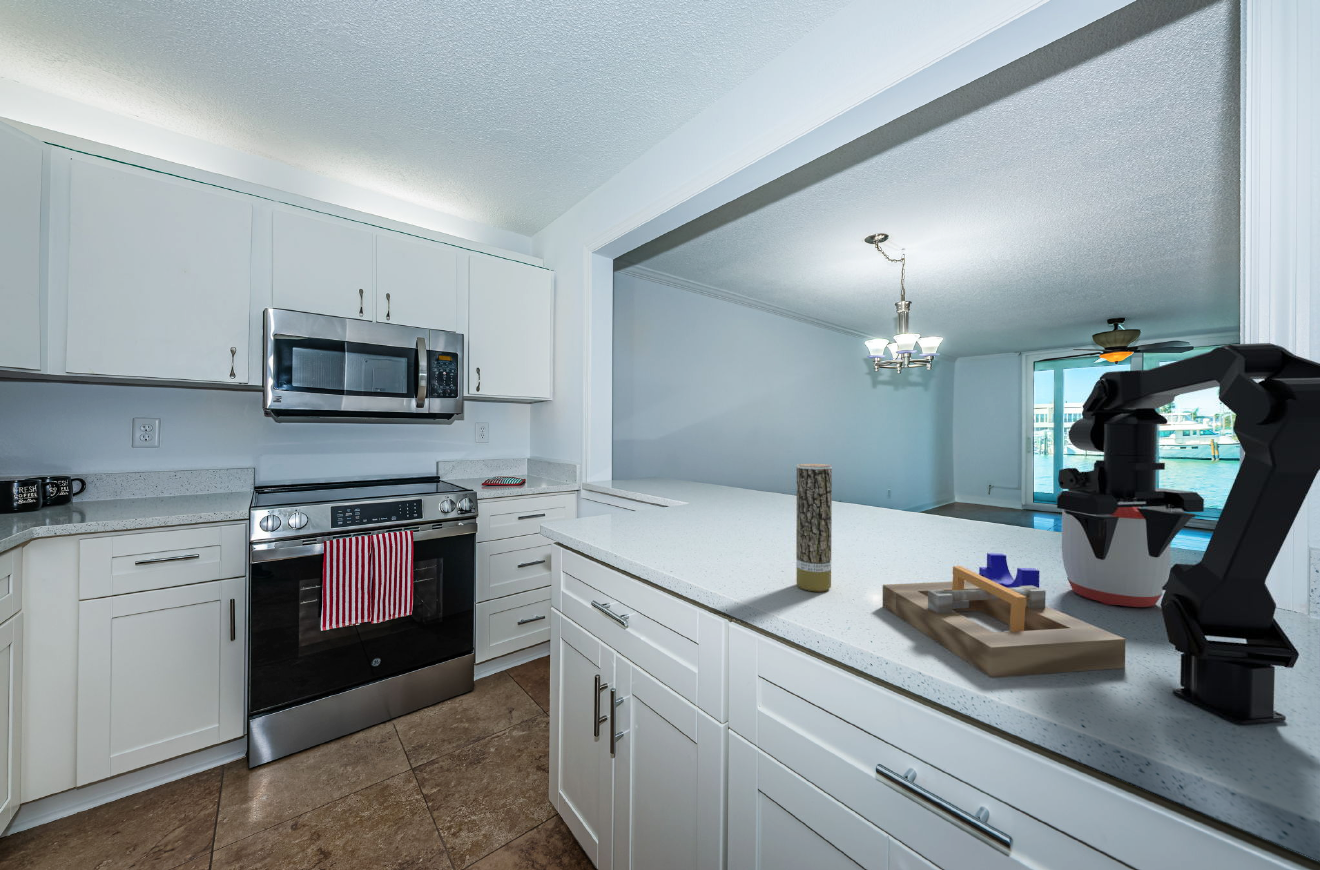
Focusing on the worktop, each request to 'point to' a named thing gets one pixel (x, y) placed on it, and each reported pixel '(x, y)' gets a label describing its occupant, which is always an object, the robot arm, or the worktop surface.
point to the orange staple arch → (994, 588)
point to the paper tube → (814, 526)
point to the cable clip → (1002, 576)
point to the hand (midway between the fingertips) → (1127, 557)
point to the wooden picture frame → (1035, 650)
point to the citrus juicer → (1115, 563)
